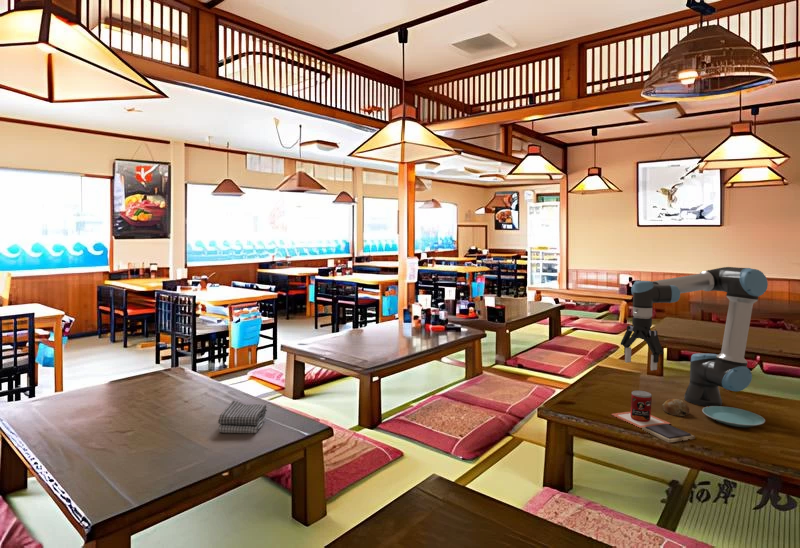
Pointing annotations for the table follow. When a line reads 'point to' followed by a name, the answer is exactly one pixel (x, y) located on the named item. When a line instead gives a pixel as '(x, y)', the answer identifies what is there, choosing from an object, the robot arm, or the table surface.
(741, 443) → the table surface
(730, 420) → the plate
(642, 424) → the print sheet
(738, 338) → the robot arm
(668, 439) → the ink pad
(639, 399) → the canned food
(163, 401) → the table surface
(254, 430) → the towel
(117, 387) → the table surface
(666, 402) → the bread roll
